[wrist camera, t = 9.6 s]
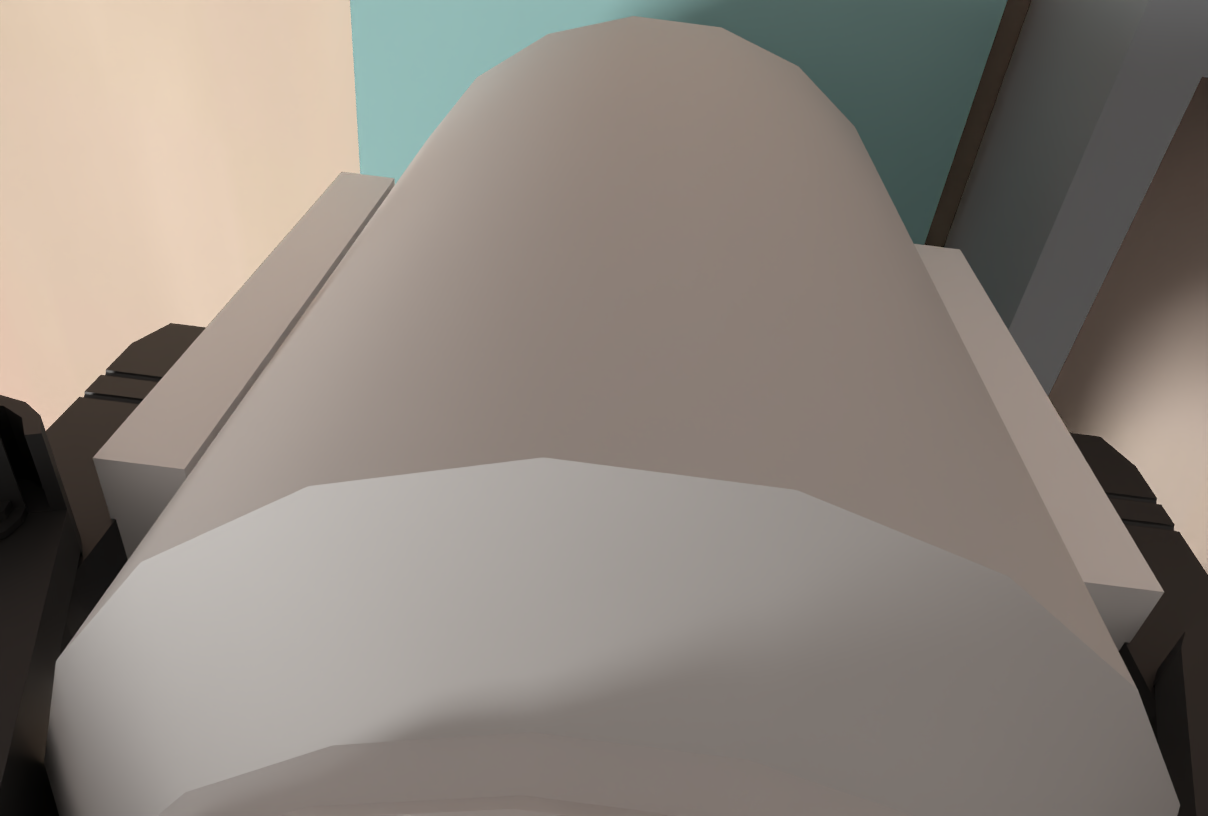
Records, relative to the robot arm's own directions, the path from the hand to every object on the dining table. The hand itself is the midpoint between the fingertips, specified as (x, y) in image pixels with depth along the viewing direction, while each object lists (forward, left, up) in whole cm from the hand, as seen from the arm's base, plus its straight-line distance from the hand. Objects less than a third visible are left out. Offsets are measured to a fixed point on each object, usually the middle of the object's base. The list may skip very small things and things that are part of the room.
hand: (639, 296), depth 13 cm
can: (0, 0, -2) cm, 2 cm away
